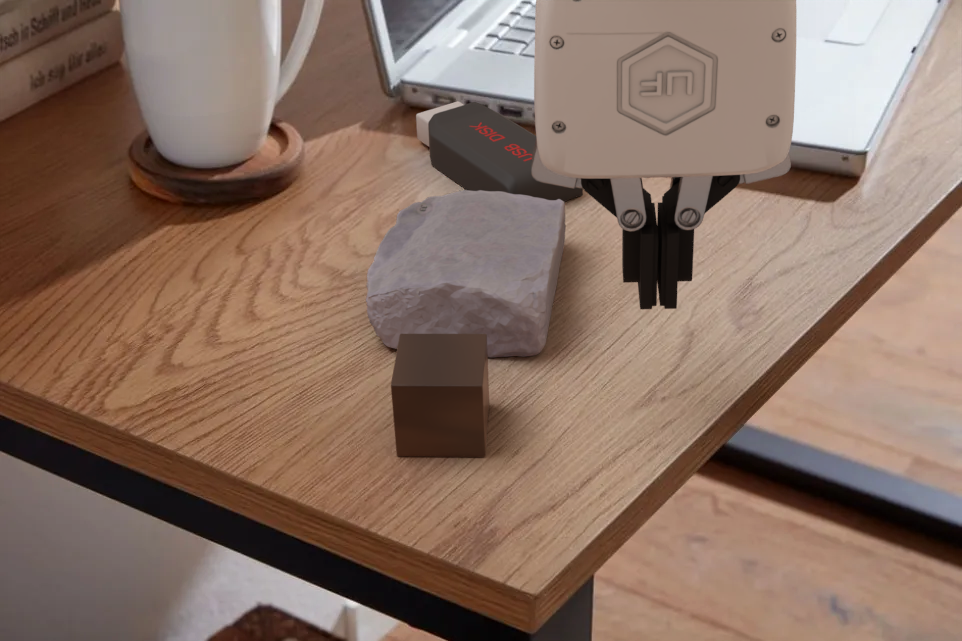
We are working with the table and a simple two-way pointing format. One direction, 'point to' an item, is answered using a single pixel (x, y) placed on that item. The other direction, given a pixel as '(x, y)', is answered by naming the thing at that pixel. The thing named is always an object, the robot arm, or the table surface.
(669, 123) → the robot arm
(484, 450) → the walnut block
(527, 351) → the stone block
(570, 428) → the table surface
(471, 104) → the usb drive
